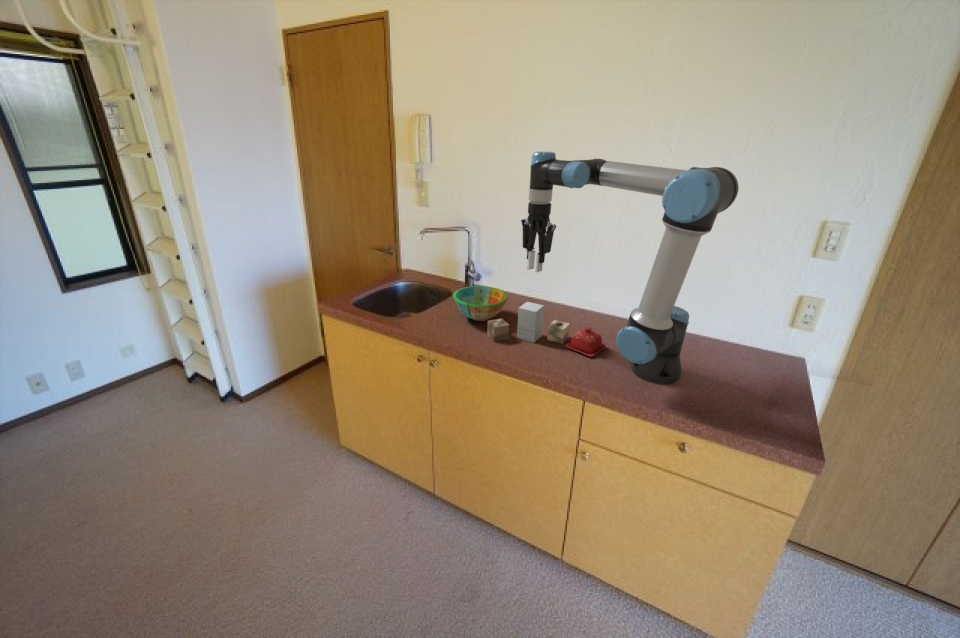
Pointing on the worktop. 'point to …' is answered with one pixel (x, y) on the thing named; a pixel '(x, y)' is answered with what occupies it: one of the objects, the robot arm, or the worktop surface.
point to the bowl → (480, 301)
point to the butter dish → (586, 342)
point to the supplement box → (530, 321)
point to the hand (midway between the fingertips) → (534, 270)
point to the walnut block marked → (498, 329)
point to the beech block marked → (558, 331)
